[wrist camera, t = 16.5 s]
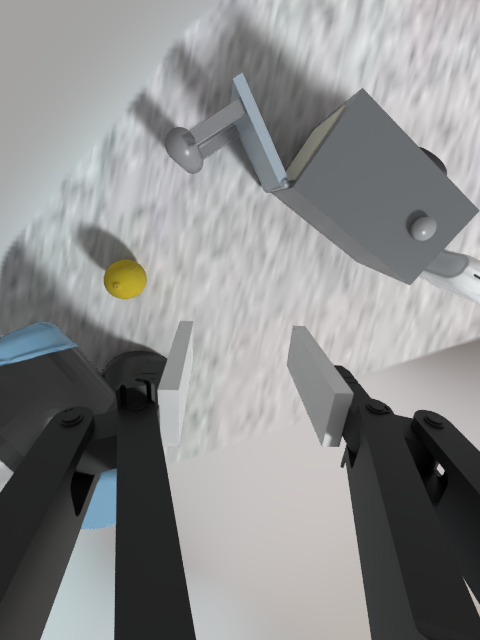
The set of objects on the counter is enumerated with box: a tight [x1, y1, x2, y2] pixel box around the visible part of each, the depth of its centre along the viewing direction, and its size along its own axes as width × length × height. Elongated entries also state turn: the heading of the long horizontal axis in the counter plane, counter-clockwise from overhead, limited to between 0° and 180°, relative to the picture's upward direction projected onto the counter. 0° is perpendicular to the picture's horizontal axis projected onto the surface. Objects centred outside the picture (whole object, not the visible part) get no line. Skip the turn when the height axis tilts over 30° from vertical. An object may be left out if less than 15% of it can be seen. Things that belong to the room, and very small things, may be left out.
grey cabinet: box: [271, 88, 479, 285], centre depth 35 cm, size 12×18×15 cm, turn 55°
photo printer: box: [419, 250, 480, 304], centre depth 41 cm, size 10×4×12 cm, turn 61°
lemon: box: [104, 259, 147, 299], centre depth 41 cm, size 6×6×8 cm
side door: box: [165, 72, 290, 193], centre depth 33 cm, size 10×10×12 cm
